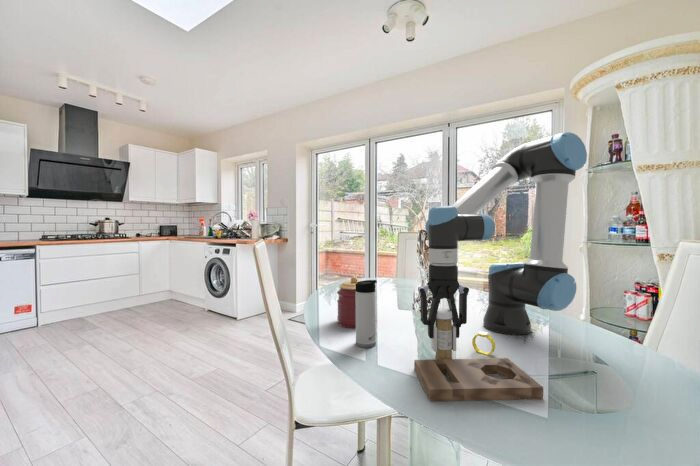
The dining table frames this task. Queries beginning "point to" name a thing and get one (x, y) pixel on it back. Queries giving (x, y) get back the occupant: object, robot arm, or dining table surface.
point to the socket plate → (475, 380)
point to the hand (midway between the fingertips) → (443, 349)
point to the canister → (347, 303)
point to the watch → (485, 334)
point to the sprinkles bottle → (444, 333)
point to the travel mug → (365, 313)
